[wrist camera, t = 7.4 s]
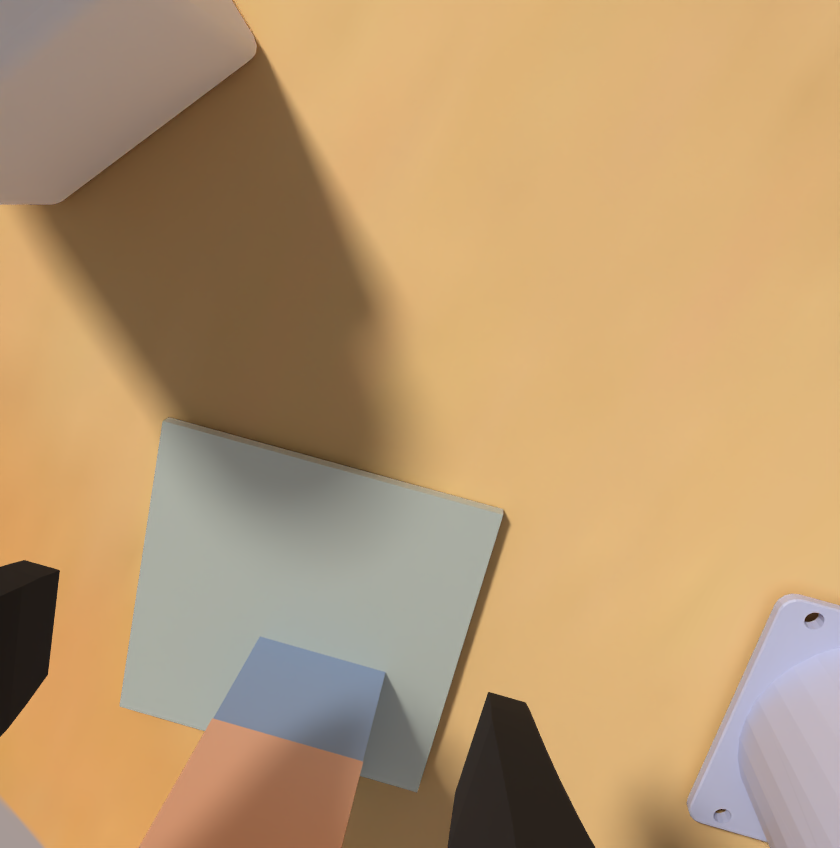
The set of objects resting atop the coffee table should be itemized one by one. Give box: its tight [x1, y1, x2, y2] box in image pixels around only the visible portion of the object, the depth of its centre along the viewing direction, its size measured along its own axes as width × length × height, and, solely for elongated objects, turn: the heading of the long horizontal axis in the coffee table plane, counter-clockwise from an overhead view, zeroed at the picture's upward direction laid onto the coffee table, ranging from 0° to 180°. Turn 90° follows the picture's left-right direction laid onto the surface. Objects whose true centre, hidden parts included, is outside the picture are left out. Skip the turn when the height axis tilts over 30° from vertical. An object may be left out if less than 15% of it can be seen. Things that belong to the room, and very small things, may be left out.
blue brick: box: [213, 637, 385, 761], centre depth 22 cm, size 4×4×4 cm
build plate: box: [120, 417, 503, 792], centre depth 23 cm, size 10×10×1 cm
